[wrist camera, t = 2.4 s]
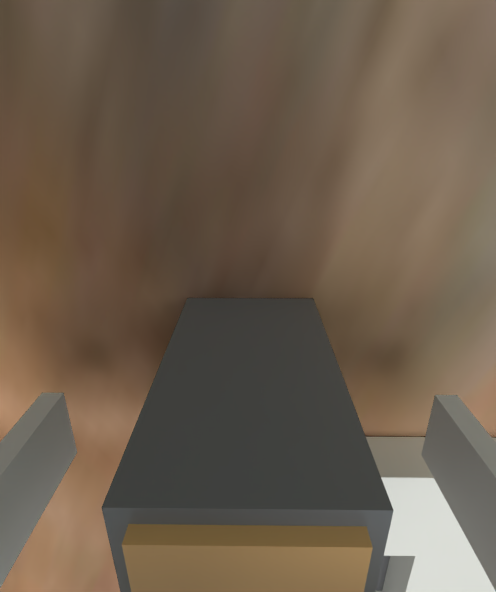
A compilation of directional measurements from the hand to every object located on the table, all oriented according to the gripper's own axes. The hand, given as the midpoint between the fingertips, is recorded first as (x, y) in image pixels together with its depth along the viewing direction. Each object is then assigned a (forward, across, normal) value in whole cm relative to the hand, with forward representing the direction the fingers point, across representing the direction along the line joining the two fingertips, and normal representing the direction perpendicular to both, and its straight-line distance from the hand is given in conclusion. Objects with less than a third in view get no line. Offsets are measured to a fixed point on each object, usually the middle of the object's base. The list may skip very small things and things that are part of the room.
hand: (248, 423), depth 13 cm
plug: (+4, 0, 0) cm, 4 cm away
